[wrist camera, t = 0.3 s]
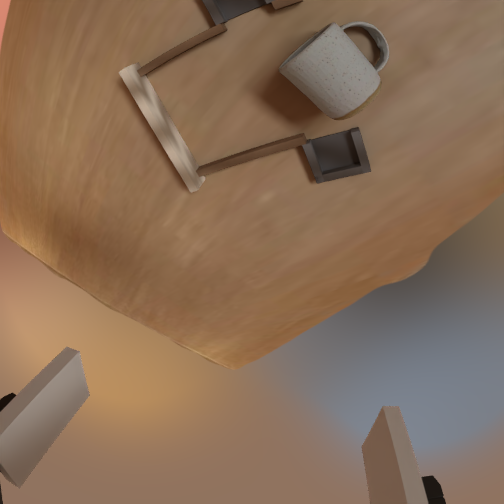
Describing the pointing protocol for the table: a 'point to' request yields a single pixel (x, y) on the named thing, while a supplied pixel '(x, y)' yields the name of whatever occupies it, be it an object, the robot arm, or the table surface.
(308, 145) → the frame with square trays
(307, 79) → the ceramic mug
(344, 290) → the table surface
